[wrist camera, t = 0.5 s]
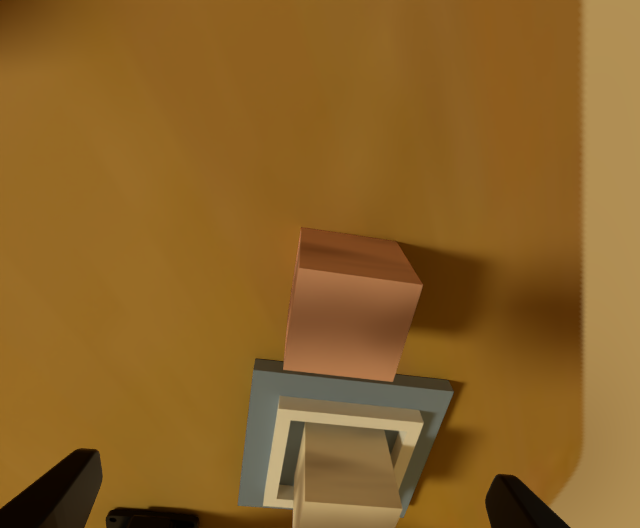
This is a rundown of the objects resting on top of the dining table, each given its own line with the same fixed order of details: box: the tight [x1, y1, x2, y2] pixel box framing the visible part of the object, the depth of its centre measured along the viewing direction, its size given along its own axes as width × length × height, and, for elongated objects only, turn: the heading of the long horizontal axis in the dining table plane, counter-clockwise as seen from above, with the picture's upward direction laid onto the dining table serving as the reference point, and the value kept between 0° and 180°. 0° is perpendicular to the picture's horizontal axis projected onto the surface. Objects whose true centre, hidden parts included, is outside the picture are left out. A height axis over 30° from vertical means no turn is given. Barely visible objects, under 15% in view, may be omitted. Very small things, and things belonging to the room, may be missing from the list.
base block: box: [292, 422, 403, 528], centre depth 22 cm, size 5×5×5 cm
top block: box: [283, 227, 423, 382], centre depth 18 cm, size 5×5×5 cm
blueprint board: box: [238, 359, 454, 518], centre depth 24 cm, size 12×12×2 cm
